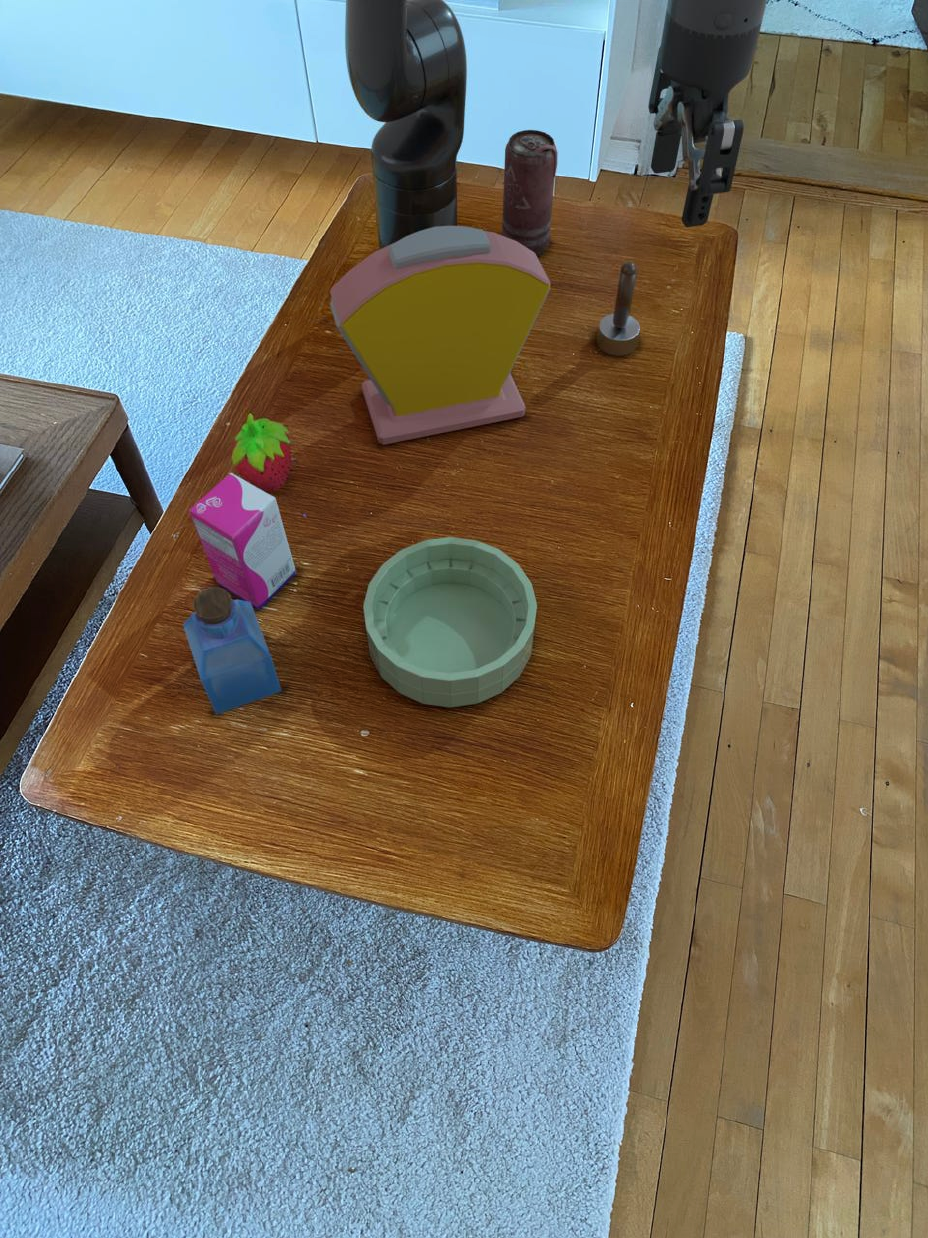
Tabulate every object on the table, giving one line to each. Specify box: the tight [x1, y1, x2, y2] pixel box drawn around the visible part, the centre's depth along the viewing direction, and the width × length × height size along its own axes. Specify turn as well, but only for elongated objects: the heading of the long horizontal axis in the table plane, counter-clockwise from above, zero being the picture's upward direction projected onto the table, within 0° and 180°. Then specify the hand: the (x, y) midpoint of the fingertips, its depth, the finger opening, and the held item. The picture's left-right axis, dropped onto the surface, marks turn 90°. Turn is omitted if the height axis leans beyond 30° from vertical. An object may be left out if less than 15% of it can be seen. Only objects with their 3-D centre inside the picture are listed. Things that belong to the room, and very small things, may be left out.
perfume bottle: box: [182, 586, 282, 716], centre depth 85 cm, size 6×6×12 cm
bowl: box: [362, 536, 538, 708], centre depth 90 cm, size 16×16×6 cm
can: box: [501, 129, 559, 257], centre depth 120 cm, size 6×6×14 cm
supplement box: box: [188, 472, 297, 611], centre depth 92 cm, size 6×6×12 cm
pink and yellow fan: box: [329, 225, 551, 446], centre depth 101 cm, size 22×9×22 cm, turn 106°
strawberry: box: [230, 413, 292, 492], centre depth 99 cm, size 6×7×10 cm
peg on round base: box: [596, 261, 641, 357], centre depth 111 cm, size 5×5×11 cm
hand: (677, 196), depth 89 cm, fingers open, 8 cm apart
